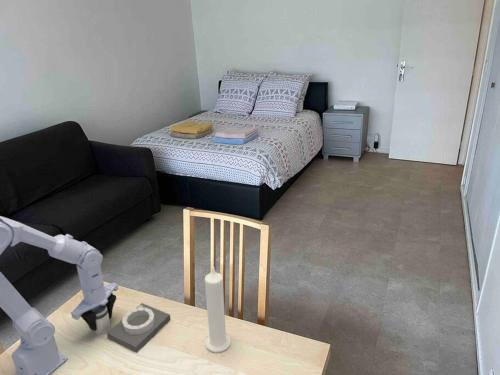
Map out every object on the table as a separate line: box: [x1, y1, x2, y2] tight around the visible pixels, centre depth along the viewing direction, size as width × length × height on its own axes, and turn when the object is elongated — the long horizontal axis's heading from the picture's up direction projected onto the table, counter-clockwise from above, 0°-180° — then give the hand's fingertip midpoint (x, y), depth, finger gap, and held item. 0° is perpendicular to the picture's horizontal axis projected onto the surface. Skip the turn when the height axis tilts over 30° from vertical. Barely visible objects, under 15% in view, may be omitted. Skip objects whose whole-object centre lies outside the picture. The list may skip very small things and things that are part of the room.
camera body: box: [106, 302, 171, 353], centre depth 109 cm, size 14×11×4 cm
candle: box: [204, 266, 232, 354], centre depth 100 cm, size 7×7×25 cm
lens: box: [90, 305, 112, 335], centre depth 109 cm, size 5×5×7 cm
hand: (101, 323), depth 110 cm, fingers closed on lens, 5 cm apart
